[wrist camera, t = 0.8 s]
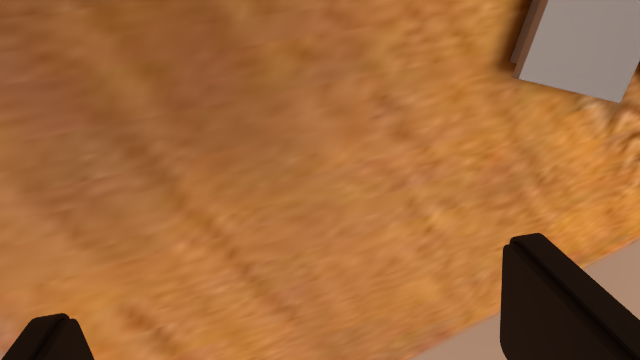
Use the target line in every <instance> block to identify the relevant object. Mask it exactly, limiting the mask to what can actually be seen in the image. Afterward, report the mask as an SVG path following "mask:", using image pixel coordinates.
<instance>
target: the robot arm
mask: <svg viewBox="0 0 640 360" xmlns="http://www.w3.org/2000/svg"><path fill="white" fill-rule="evenodd" d="M500 321H501V322H500V343H501V347H502V350H503V353H504V355H505V357H506V358H507V360H640V320H639V319H638V318H637V317H635V316H634V315H633V314H632V313H631V312H630V311H629V310H627V309H626V308H625V307H624V306H623V305H622V304H621V303H619V302H618V301H617V300H616V299H615V298H614V297H613V296H612V295H610V294H609V293H608V292H607V291H606V290H605V289H604V288H602V287H601V286H600V285H599V284H598V283H597V282H596V281H595V280H593V279H592V278H591V277H590V276H589V275H588V274H587V273H585V272H584V271H583V270H582V269H581V268H580V267H579V266H578V265H576V264H575V263H574V262H573V261H572V260H571V259H570V258H568V257H567V256H566V255H565V254H564V253H563V252H562V251H561V250H559V249H558V248H557V247H556V246H555V245H554V244H553V243H551V242H550V241H549V240H548V239H547V238H546V237H545V236H544V235H542V234H540V233H534V234H528V235H522V236H516V237H513V238H511V240H510V244H508V245H505V246H504V248H503V262H502V291H501V320H500ZM2 360H94V358H93V355H92V353H91V351H90V348H89V346H88V344H87V341H86V339H85V337H84V335H83V332H82V330H81V328H80V325H79V323H78V322H77V320H75V319H70V318H69V316H68V315H66V314H64V313H60V314H54V315H48V316H42V317H37V318H34V319H32V320H31V321H30V322H29V323H28V325H27V326H26V327H25V329H24V330H23V331H22V333H21V334H20V335H19V337H18V338H17V339H16V341H15V342H14V344H13V345H12V346H11V348H10V349H9V350H8V352H7V353H6V354H5V356H4V357H3V358H2Z"/></svg>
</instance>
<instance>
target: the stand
mask: <svg viewBox="0 0 640 360" xmlns="http://www.w3.org/2000/svg"><path fill="white" fill-rule="evenodd" d="M639 61H640V0H532V2H531V5H530V7H529V10H528V13H527V16H526V18H525V21H524V24H523V26H522V29H521V32H520V35H519V37H518V40H517V43H516V45H515V48H514V51H513V54H512V56H511V59H510V62H512V63H516V64H517V65H516V68H515V70H514V73H513V76H512V77H514V78H518V79H521V80H526V81H530V82H534V83H538V84H542V85H546V86H551V87H555V88H559V89H563V90H567V91H572V92H576V93H580V94H584V95H588V96H593V97H597V98H601V99H605V100H609V101H613V102H618V103H620V102H621V100H622V98H623V95H624V93H625V91H626V89H627V87H628V85H629V83H630V80H631V78H632V76H633V74H634V72H635V70H636V68H637V65H638V63H639Z"/></svg>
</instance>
